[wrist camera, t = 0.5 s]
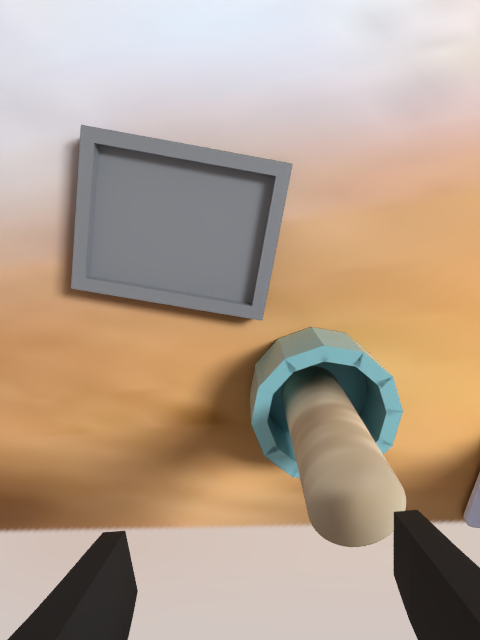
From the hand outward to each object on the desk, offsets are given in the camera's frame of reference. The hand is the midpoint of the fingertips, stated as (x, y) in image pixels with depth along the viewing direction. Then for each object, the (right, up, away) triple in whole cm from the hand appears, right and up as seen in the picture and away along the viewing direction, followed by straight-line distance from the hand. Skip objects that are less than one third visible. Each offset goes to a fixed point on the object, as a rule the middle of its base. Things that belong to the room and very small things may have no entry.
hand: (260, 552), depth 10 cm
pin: (+3, +2, +9) cm, 10 cm away
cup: (+3, +3, +10) cm, 11 cm away
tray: (-3, +11, +8) cm, 14 cm away
